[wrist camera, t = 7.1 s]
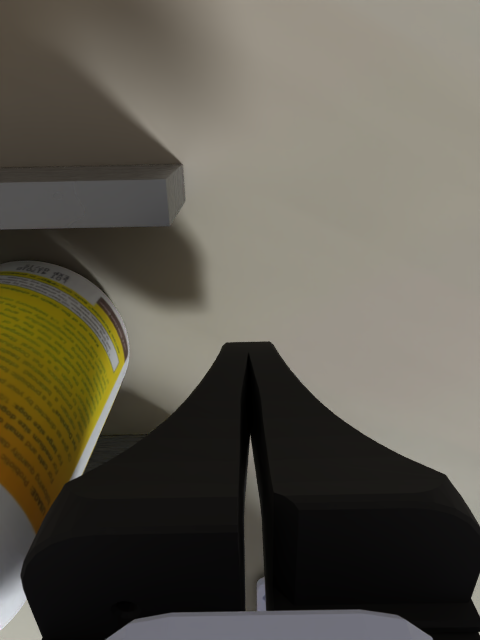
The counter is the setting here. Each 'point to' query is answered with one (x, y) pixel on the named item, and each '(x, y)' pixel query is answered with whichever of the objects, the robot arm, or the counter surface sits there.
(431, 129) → the counter surface
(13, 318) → the supplement bottle
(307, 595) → the robot arm
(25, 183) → the grey piece
